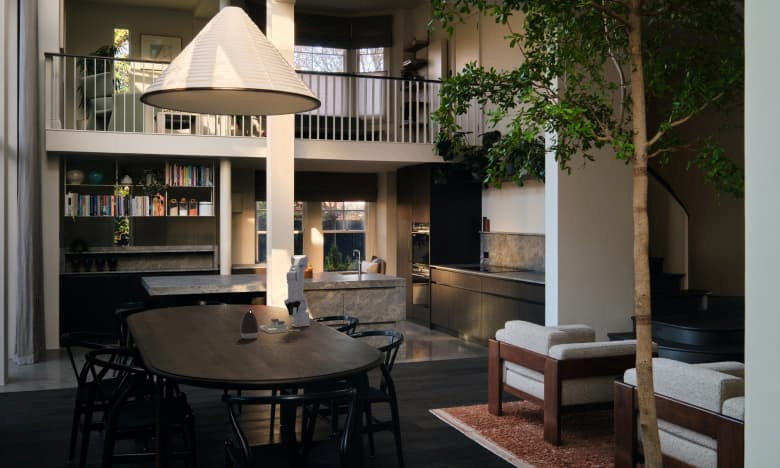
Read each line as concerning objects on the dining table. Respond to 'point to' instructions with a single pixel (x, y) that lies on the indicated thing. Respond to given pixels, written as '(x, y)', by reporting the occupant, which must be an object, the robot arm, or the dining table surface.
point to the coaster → (294, 330)
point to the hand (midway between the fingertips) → (293, 314)
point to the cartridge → (294, 313)
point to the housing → (274, 328)
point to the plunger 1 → (274, 320)
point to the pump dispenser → (249, 326)
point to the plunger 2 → (280, 322)
